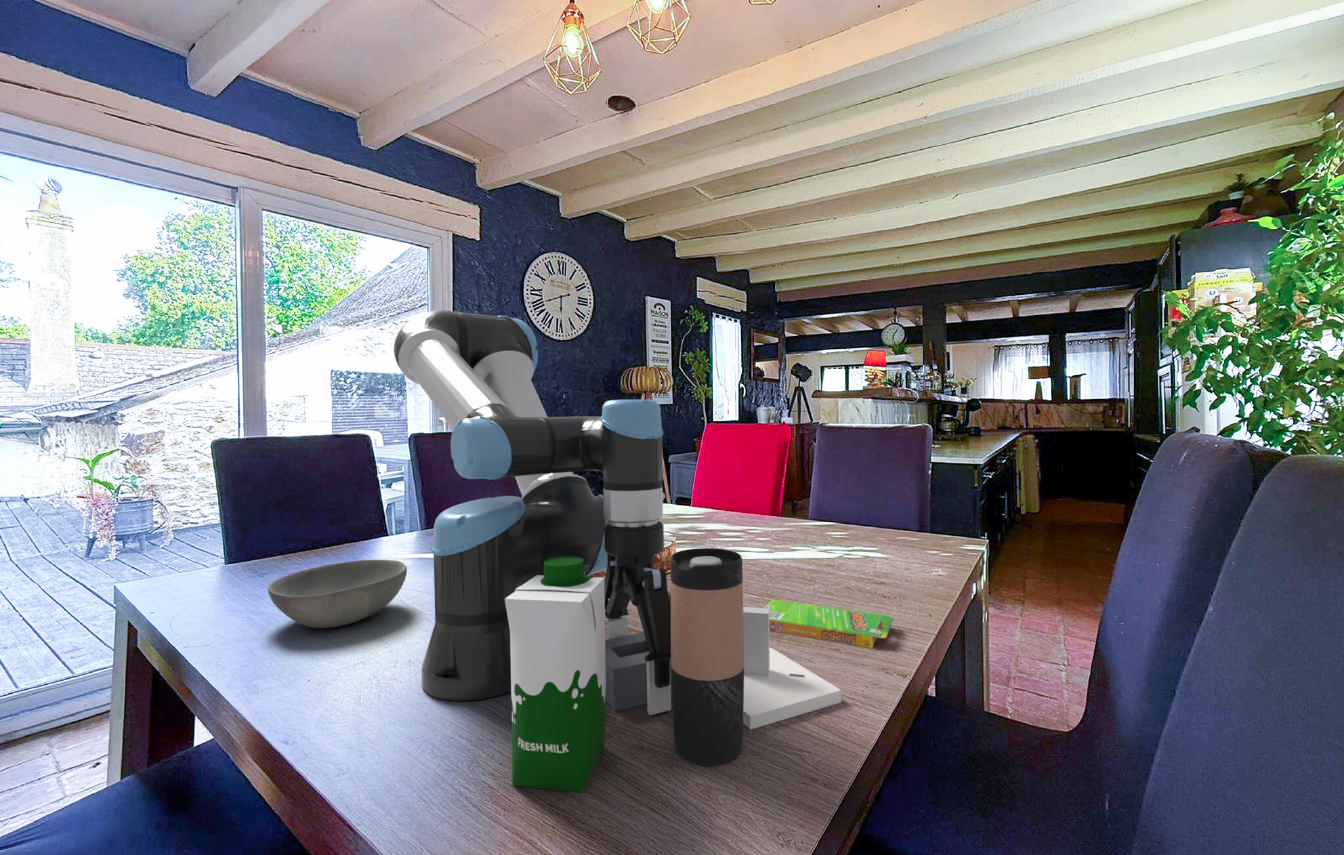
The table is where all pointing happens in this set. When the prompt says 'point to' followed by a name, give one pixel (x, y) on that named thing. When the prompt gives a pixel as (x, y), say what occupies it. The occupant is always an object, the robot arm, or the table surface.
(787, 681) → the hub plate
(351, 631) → the table surface
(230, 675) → the table surface
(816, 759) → the table surface
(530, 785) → the milk carton
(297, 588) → the bowl
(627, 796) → the table surface
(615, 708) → the gray slotted box
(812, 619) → the game box
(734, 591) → the travel mug
